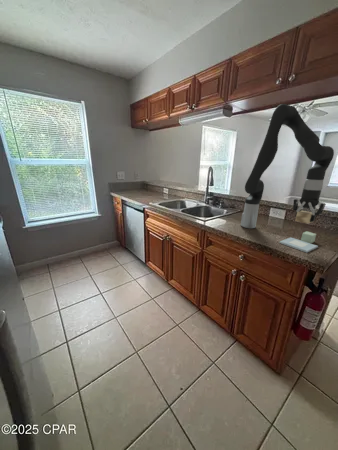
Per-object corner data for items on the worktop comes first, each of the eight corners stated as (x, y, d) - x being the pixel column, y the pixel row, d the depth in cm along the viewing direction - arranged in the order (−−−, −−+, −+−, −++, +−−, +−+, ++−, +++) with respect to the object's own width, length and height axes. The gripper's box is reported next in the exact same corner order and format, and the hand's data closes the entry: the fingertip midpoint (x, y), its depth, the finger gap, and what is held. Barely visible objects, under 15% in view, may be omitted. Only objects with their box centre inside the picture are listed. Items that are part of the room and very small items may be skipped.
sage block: (300, 240, 110) (302, 232, 108) (304, 239, 113) (306, 231, 111) (310, 243, 106) (312, 235, 104) (314, 241, 109) (316, 234, 107)
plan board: (279, 242, 106) (279, 241, 106) (290, 238, 112) (290, 237, 112) (306, 252, 95) (307, 250, 95) (317, 247, 101) (317, 245, 101)
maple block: (295, 220, 100) (297, 211, 99) (300, 219, 103) (302, 210, 102) (307, 223, 95) (310, 214, 94) (313, 222, 98) (315, 213, 97)
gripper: (293, 187, 98) (286, 217, 103) (326, 190, 86) (316, 225, 91) (300, 186, 101) (293, 216, 107) (332, 189, 90) (323, 222, 95)
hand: (304, 220), depth 99 cm, fingers closed on maple block, 6 cm apart
